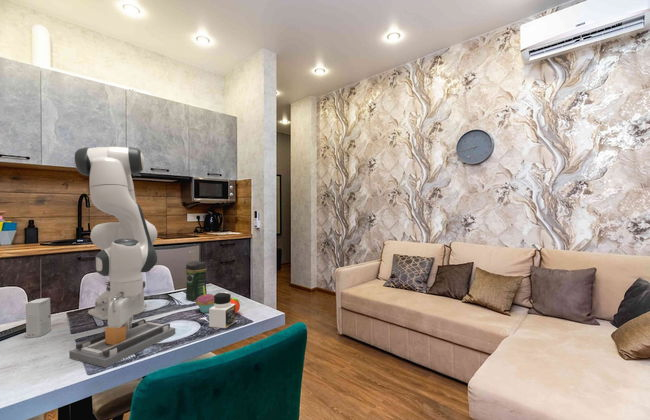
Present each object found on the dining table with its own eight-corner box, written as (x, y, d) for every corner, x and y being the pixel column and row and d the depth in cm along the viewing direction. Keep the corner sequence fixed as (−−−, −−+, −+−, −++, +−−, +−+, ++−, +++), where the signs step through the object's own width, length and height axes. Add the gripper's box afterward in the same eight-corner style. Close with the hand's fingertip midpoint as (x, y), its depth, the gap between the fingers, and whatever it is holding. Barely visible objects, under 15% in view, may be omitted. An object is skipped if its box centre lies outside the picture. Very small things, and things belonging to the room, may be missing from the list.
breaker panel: (69, 357, 90) (69, 345, 90) (143, 327, 112) (142, 318, 112) (105, 367, 84) (105, 354, 84) (175, 333, 106) (175, 323, 106)
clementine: (244, 312, 129) (244, 295, 129) (238, 318, 122) (238, 300, 122) (227, 311, 129) (227, 295, 129) (219, 317, 122) (219, 300, 122)
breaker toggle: (105, 343, 94) (105, 325, 94) (114, 339, 97) (114, 322, 97) (116, 345, 92) (116, 327, 92) (125, 341, 95) (125, 324, 95)
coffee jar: (209, 298, 148) (209, 261, 148) (195, 302, 142) (195, 263, 142) (197, 295, 154) (197, 259, 153) (183, 299, 147) (183, 261, 147)
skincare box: (40, 336, 104) (40, 302, 104) (25, 338, 103) (24, 303, 103) (51, 329, 110) (51, 297, 110) (37, 331, 109) (36, 298, 109)
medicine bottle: (226, 328, 111) (225, 296, 111) (208, 327, 112) (208, 295, 112) (235, 321, 118) (235, 291, 118) (219, 320, 119) (219, 290, 119)
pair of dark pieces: (76, 348, 90) (76, 344, 90) (143, 322, 111) (143, 319, 111) (105, 356, 85) (105, 352, 85) (169, 327, 106) (169, 324, 106)
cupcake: (210, 314, 126) (209, 286, 125) (191, 313, 127) (191, 285, 127) (220, 307, 134) (220, 281, 134) (202, 306, 135) (202, 280, 135)
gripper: (125, 296, 89) (125, 343, 89) (147, 280, 108) (147, 318, 108) (100, 298, 87) (101, 345, 87) (127, 282, 107) (127, 320, 107)
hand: (127, 330), depth 98 cm, fingers closed
